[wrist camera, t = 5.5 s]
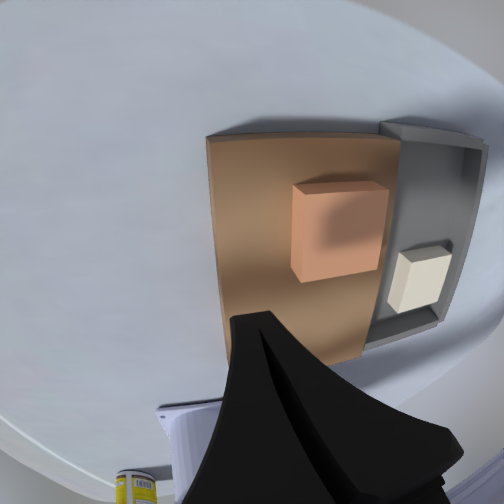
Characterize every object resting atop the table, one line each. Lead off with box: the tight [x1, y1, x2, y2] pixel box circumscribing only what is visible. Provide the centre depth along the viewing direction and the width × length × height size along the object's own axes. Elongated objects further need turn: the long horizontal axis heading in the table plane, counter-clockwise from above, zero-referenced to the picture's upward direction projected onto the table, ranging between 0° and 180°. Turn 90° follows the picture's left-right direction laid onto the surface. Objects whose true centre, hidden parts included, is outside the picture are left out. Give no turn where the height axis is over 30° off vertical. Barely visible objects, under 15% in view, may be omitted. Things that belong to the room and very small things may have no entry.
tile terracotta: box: [291, 181, 389, 283], centre depth 15 cm, size 4×4×2 cm
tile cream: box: [387, 245, 452, 313], centre depth 21 cm, size 4×4×2 cm
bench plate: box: [206, 132, 401, 366], centre depth 18 cm, size 16×10×2 cm, turn 2°
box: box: [363, 121, 488, 351], centre depth 20 cm, size 17×9×2 cm, turn 2°
